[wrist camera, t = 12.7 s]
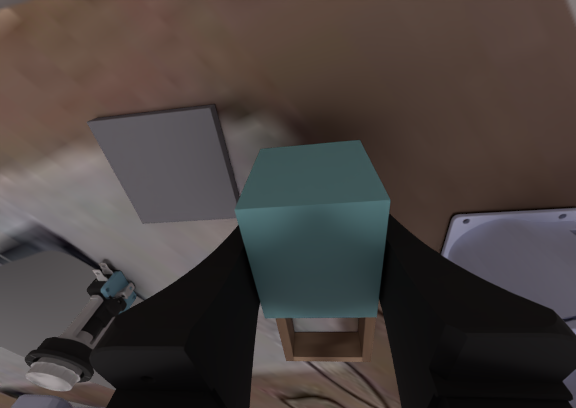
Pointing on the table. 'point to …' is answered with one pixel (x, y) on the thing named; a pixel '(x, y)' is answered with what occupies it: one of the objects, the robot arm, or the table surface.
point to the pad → (170, 163)
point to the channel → (327, 343)
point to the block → (315, 230)
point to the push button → (81, 334)
